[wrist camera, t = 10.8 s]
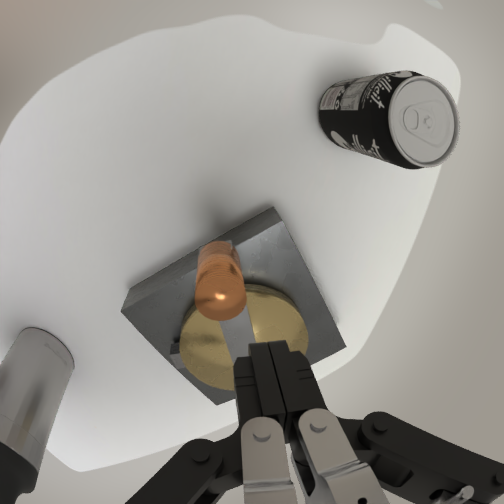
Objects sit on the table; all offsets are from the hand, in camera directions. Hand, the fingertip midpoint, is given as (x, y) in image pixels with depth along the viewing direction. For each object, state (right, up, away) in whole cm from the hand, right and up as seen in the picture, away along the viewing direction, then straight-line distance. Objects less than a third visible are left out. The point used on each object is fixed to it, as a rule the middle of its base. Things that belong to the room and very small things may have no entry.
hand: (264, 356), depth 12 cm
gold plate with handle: (-2, -2, +16) cm, 16 cm away
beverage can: (+8, +17, +13) cm, 23 cm away
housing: (-2, -2, +21) cm, 21 cm away
